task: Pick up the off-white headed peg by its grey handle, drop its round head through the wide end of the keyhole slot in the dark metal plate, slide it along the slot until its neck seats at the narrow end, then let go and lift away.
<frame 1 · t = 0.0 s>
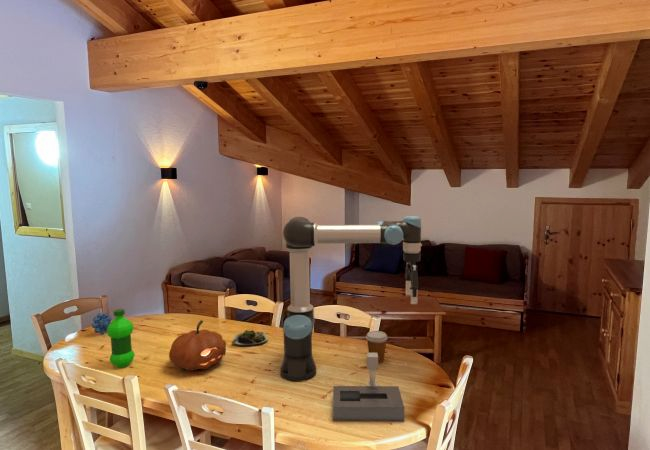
hand: (411, 299, 183), 28 cm above the table, tool pointing down, fingers open, 13 cm apart
plastic bottle: (122, 365, 185), on the table
pumpkin: (199, 364, 185), on the table
disposable coffee cup: (376, 360, 187), on the table
salad plate: (250, 341, 211), on the table
keyhole plate: (367, 409, 147), on the table
headed peg: (372, 389, 161), on the table
grapes: (104, 334, 221), on the table
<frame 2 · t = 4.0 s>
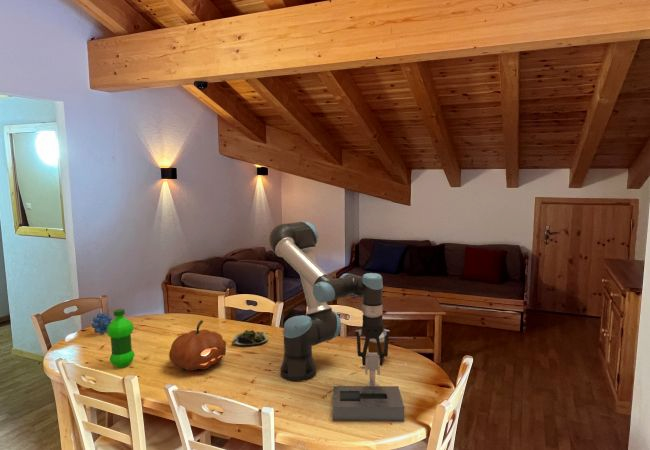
hand: (372, 373, 160), 7 cm above the table, tool pointing down, fingers closed on headed peg, 4 cm apart
headed peg: (372, 389, 161), on the table, touching gripper
everything else where it was.
when the fingers open (7 cm above the table, at t = 12.9 s): headed peg stays where it is, resting in keyhole plate.
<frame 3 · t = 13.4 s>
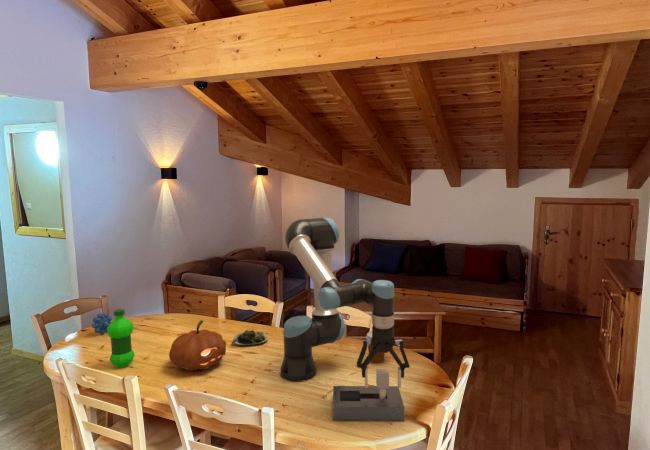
hand: (382, 385, 146), 9 cm above the table, tool pointing down, fingers open, 11 cm apart
headed peg: (382, 409, 147), resting in keyhole plate
everything else where it was.
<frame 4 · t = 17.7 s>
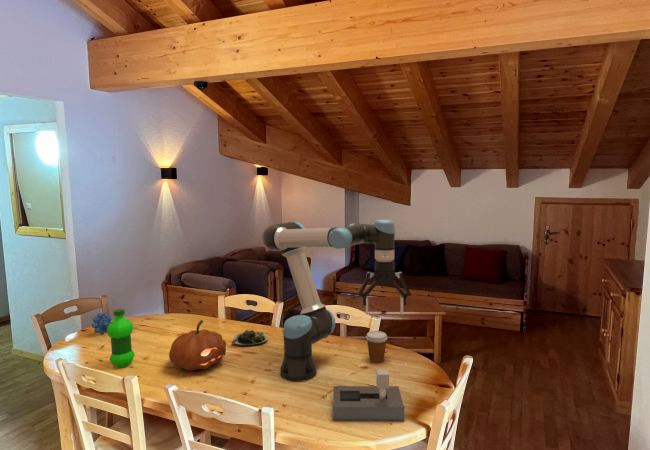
hand: (384, 313, 163), 29 cm above the table, tool pointing down, fingers open, 13 cm apart
nothing on the table moved.
at the end: headed peg 0.0 cm from the target spot on the keyhole plate, point 0.0 cm above the keyhole plate's base; the gripper is holding nothing; headed peg tilted 0° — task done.
